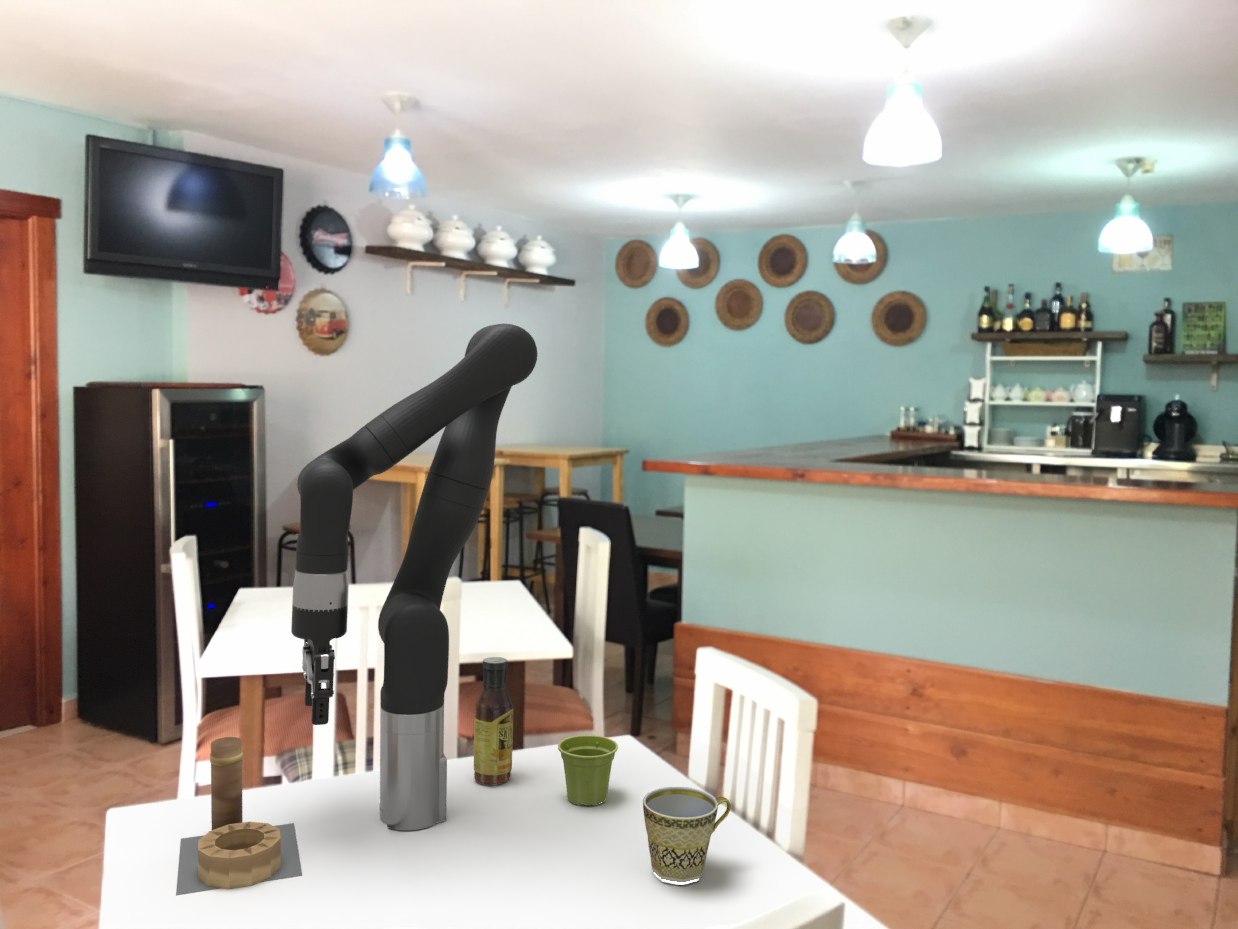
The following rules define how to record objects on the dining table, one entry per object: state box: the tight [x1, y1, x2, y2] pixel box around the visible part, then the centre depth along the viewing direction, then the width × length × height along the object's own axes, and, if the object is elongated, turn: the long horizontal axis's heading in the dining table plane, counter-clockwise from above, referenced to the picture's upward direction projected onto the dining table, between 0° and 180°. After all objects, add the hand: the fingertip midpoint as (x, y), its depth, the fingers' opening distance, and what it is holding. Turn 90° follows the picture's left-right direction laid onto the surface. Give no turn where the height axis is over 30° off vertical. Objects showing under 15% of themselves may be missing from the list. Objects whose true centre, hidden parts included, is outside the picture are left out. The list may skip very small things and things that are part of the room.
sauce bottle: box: [473, 656, 514, 786], centre depth 161 cm, size 7×6×20 cm
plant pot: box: [557, 734, 619, 806], centre depth 155 cm, size 9×9×9 cm
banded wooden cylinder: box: [209, 736, 244, 831], centre depth 137 cm, size 4×4×14 cm
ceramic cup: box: [642, 786, 731, 882], centre depth 133 cm, size 13×10×10 cm
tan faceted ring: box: [198, 821, 281, 890], centre depth 130 cm, size 10×10×4 cm
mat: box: [175, 822, 303, 896], centre depth 133 cm, size 15×16×1 cm
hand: (316, 714), depth 141 cm, fingers open, 8 cm apart
